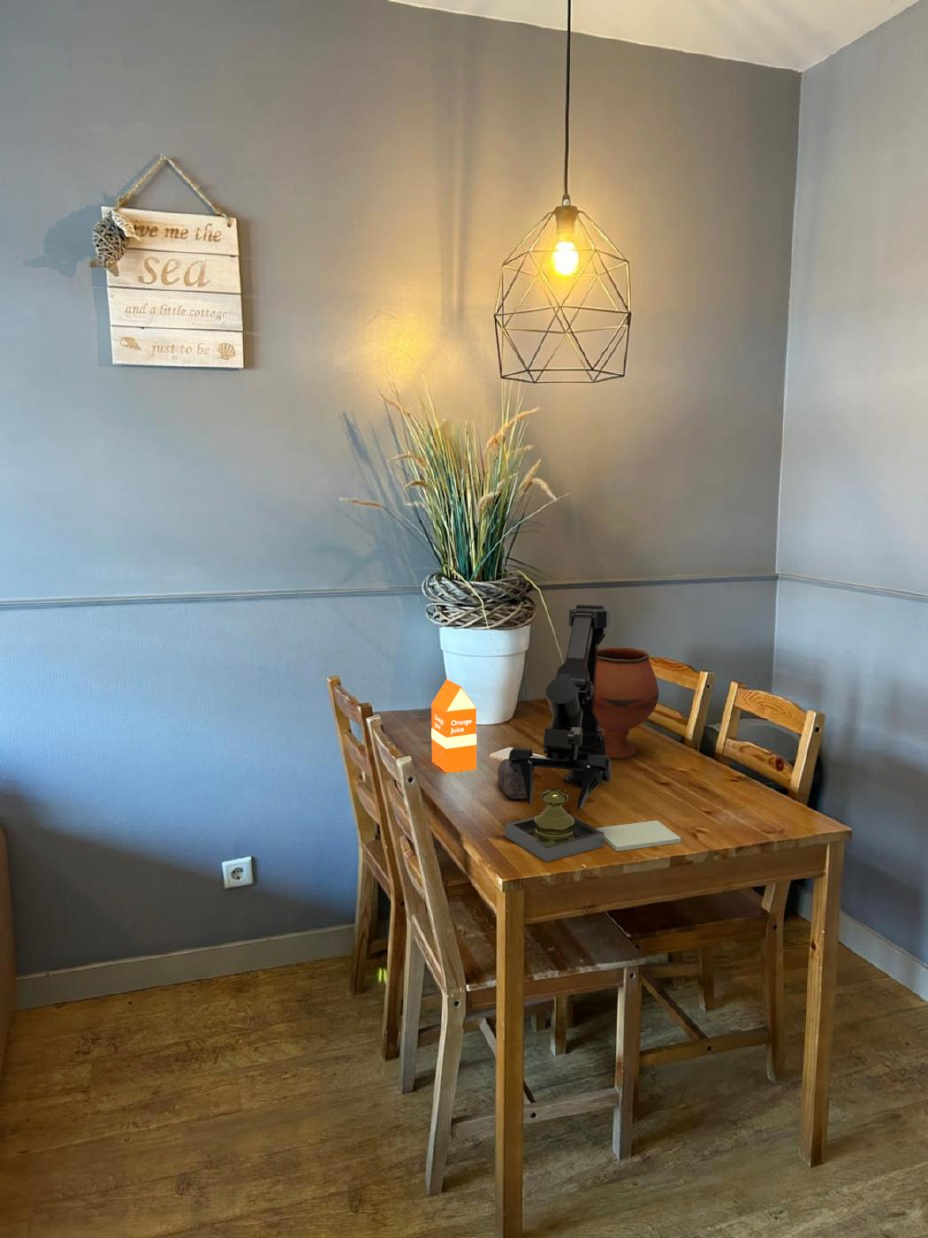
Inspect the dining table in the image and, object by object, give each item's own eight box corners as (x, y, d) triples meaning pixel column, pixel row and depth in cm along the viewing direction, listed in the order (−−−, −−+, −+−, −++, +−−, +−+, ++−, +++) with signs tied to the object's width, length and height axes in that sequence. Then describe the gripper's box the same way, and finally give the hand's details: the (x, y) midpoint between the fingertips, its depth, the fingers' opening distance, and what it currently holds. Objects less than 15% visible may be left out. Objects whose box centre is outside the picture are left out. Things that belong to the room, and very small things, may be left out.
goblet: (575, 763, 208) (576, 659, 204) (579, 739, 226) (581, 644, 222) (658, 767, 204) (661, 662, 200) (655, 743, 223) (658, 646, 219)
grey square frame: (505, 836, 165) (505, 824, 165) (560, 822, 172) (561, 810, 171) (546, 862, 154) (546, 848, 154) (604, 846, 161) (604, 833, 160)
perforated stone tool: (492, 781, 196) (492, 751, 195) (515, 779, 197) (515, 749, 196) (507, 805, 181) (507, 773, 180) (531, 803, 182) (532, 771, 181)
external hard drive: (510, 752, 218) (551, 763, 210) (489, 760, 212) (530, 772, 204) (510, 746, 217) (551, 756, 209) (489, 754, 211) (530, 765, 203)
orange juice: (445, 774, 200) (445, 688, 197) (431, 763, 208) (430, 680, 205) (477, 769, 203) (477, 684, 200) (461, 758, 211) (461, 677, 208)
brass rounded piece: (573, 834, 166) (574, 783, 165) (574, 851, 159) (575, 797, 157) (534, 833, 167) (534, 782, 165) (533, 849, 159) (534, 796, 158)
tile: (616, 851, 158) (617, 847, 158) (595, 832, 167) (595, 828, 167) (681, 842, 162) (681, 838, 162) (656, 824, 171) (656, 820, 171)
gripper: (511, 706, 166) (496, 781, 157) (611, 713, 161) (601, 791, 152) (520, 735, 175) (506, 808, 166) (615, 743, 169) (606, 818, 161)
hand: (553, 806), depth 161 cm, fingers open, 9 cm apart
